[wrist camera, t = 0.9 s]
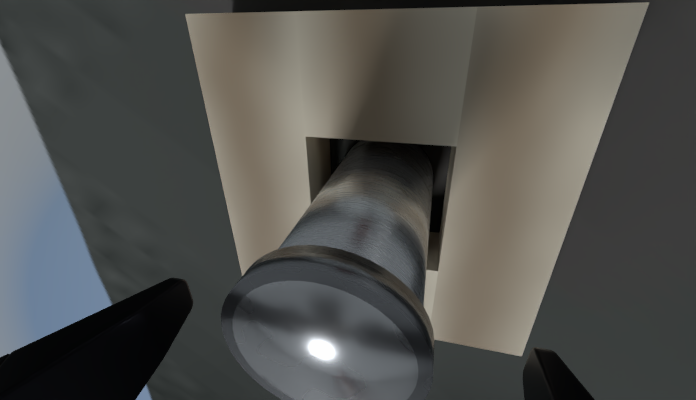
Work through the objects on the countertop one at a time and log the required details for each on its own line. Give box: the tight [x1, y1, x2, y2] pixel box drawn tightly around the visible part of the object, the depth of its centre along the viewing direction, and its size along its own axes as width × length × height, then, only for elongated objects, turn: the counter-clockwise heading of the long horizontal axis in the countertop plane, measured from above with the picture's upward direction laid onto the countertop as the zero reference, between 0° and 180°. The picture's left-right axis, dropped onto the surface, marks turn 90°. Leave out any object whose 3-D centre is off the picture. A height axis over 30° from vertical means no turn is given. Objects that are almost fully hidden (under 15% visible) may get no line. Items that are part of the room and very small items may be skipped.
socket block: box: [185, 2, 649, 356], centre depth 15 cm, size 14×14×3 cm
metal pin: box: [221, 140, 434, 400], centre depth 12 cm, size 5×5×10 cm
